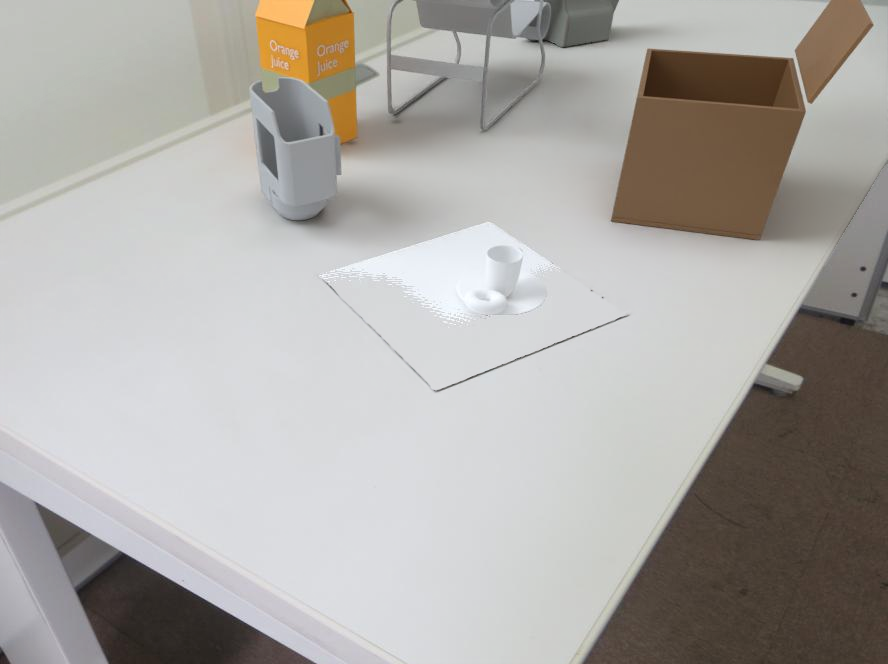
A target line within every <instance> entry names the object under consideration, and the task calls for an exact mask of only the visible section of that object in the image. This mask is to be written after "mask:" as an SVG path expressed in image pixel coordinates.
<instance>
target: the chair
mask: <svg viewBox="0 0 888 664" xmlns="http://www.w3.org/2000/svg"><path fill="white" fill-rule="evenodd" d="M403 1H404V0H394V1H392V3H391V4H390V5H389V8H388V10H387V16H386V87H387V90H386V91H387V111H388V113H389V114H390V115H396V114H398V113H399V112H400V111H402V110H403V109H404V108H406V107H407V106H409V105H410V104H411V103H412V102H414V101H415V100H416V99H419V97H421V96H422V95H423V94H424V93H427V92H428V91H429V90H431V88H433V87H434V86H436V85H437V84H439V83H440V82H441V81H442V80H444V79H445V78H448V79H454V80H460V81H467V82H474V83H482V89H481V105H480V106H481V107H480V120H479V121H480V122H479V127H480V129H481V130H482V131H487V130H489V128H490V127H492V126H493V124H495V123H496V122H497V121H498V120H499V119H500V118H501V117H502V116H503V115H505V114H506V113H507V112H508V111H509V110H510V109H511V108H512V107H513V106H515V104H517V103H518V102H519V101H520V100H521V99H522V98H523V97H524V96H525V95H526V94H527V93H528V92H529V91H531V90H532V89H533V88H534V87H535V86H536V85H537V84H538V83H539V82H540V81H541V79H542V76H543V74H544V69H545V67H546V66H545V65H546V52H545V47H544V42H543V40H544V39H543V38H544V37H545V35H546V33H547V30H548V27H549V23H550V17H551V6H550V4H549V3H547V2H544V0H540V2H537V1H534V0H413V1H415V3H416V4H415V5H416V8H417V14H418V20H419V24H420V27H421V28H424V29H430V30H438V31H447V32H452V34H453V37H454V39H455V43H456V56H455V60H454V62H447V61H441V60H440V61H439V60H434V59H433V60H432V59H426V58H418V57H410V56H404V55H397V54H392V18H393V13H394V10H395V8H396V7H397V6H398V5H399V4H400V3H402V2H403ZM458 33H463V34H470V35H480V36H485V37H486V38H485V46H484V47H485V48H484V62H483V66H476V65H469V64H468V65H467V64H461V63H460V61H461V56H462V45H461V44H462V43H461V41H460V38H459V34H458ZM492 37H495V38H503V39H513V40H515V39H517V38H520V39H521V38H522V39H526V38H529V39H537V40H536V41H538V44H539V49H540V55H541V57H540V58H541V59H540V67H539V70H538V74H537V76H536V78H535V79H534V80H533V81H532V82H531V83H530V84H528V85H527V86H526V87H524V89H523V90H522V91H521V92H520V93H518V94H517V95H516V96H515V97H514V98H513V99H512V100H511V101H509V103H508V104H506V105H505V106H503V108H502V109H501V110H500V111H499V112H497V113H496V115H494V116H493V117H492V118H491V119H490V120H488V121H487V123H486V122H485V120H486V119H485V118H486V103H487V102H486V101H487V89H488V88H487V87H488V74H489V73H488V72H489V71H488V70H489V62H490V49H491V48H490V47H491V38H492ZM392 70H394V71H400V72H407V73H415V74H421V75H427V76H435V77H437V78H435V79H434V80H432V81H431V82H430V83H428V84H427V85H425V86H424V87H423V88H421V89H420V90H418V91H417V92H416V93H414V94H413V95H412V96H410V97H409V98H408V99H406V100H405V101H404V102H402V103H401V104H399V105H398V106H397V107H395V108H393V102H392V101H393V100H392V99H393V98H392V96H393V95H392Z"/></svg>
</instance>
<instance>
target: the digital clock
mask: <svg viewBox="0 0 888 664" xmlns="http://www.w3.org/2000/svg"><path fill="white" fill-rule="evenodd" d="M533 1H537V2H540V0H533ZM544 2H547V3H549V4H550V6H551V17H550V23H549V27H548V30H547V33H546V35H545V37H544V38H543V39H542V40H545V39H546V40H545V41H547V40H548V42H549V41H550V42H549V43H551V42H552V43H551V44H553V43H555V44H556V46H557V47H559V48H566V47H574V46H580V45H585V43H586V44H592V43H597V42H603V40H604V41H608V40H610V37H611V31H612V25H613V20H614V13H615V11H616V9H617V7H618V4H619V2H620V0H544ZM525 39H526V40H528V41H538V40H537V39H529V38H525ZM591 42H592V43H591ZM555 44H554V45H555ZM579 44H580V45H579ZM573 45H574V46H573Z"/></svg>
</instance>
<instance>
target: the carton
mask: <svg viewBox="0 0 888 664" xmlns="http://www.w3.org/2000/svg"><path fill="white" fill-rule="evenodd" d="M794 59H795V58H794V57H783V56H782V57H781V56H770V55H769V56H768V55H753V54H752V55H751V54H739V53H738V54H736V53H735V54H734V53H720V52H708V51H707V52H706V51H692V50H677V49H661V48H646V53H645V56H644V63H643V66H642V71H641V76H640V80H639V86H638V91H637V95H636V99H635V105H634V109H633V114H632V118H631V123H630V128H629V132H628V137H627V141H626V147H625V152H624V155H623V161H622V164H621V169H620V175H619V180H618V184H617V189H616V194H615V199H614V202H613V203H614V204H613V208H612V213H611V218H610V222H613V223H615V222H616V223H622V224H629V223H630V225H636V226H637V225H638V226H645V227H653V228H662V229H669V230H675V231H676V230H678V231H685V232H693V233H699V234H700V233H701V234H709V235H717V236H723V237H732V238H739V239H745V240H746V239H747V240H754V241H755V240H756V241H760V240H761V237H762V234H763V232H764V229H765V226H766V223H767V221H768V218H769V216H770V212H771V209H772V207H773V204H774V201H775V198H776V196H777V193H778V190H779V187H780V184H781V182H782V180H783V178H784V177H783V176H784V175H785V171H786V168H787V165H788V163H789V160H790V158H791V155H792V152H793V149H794V146H795V143H796V141H797V138H798V135H799V132H800V129H801V127H802V124H803V121H804V118H805V116H806V113H807V109H806V105H805V101H804V97H803V92H802V89H801V84H800V80H799V76H798V72H797V68H796V63H795V60H794Z"/></svg>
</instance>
